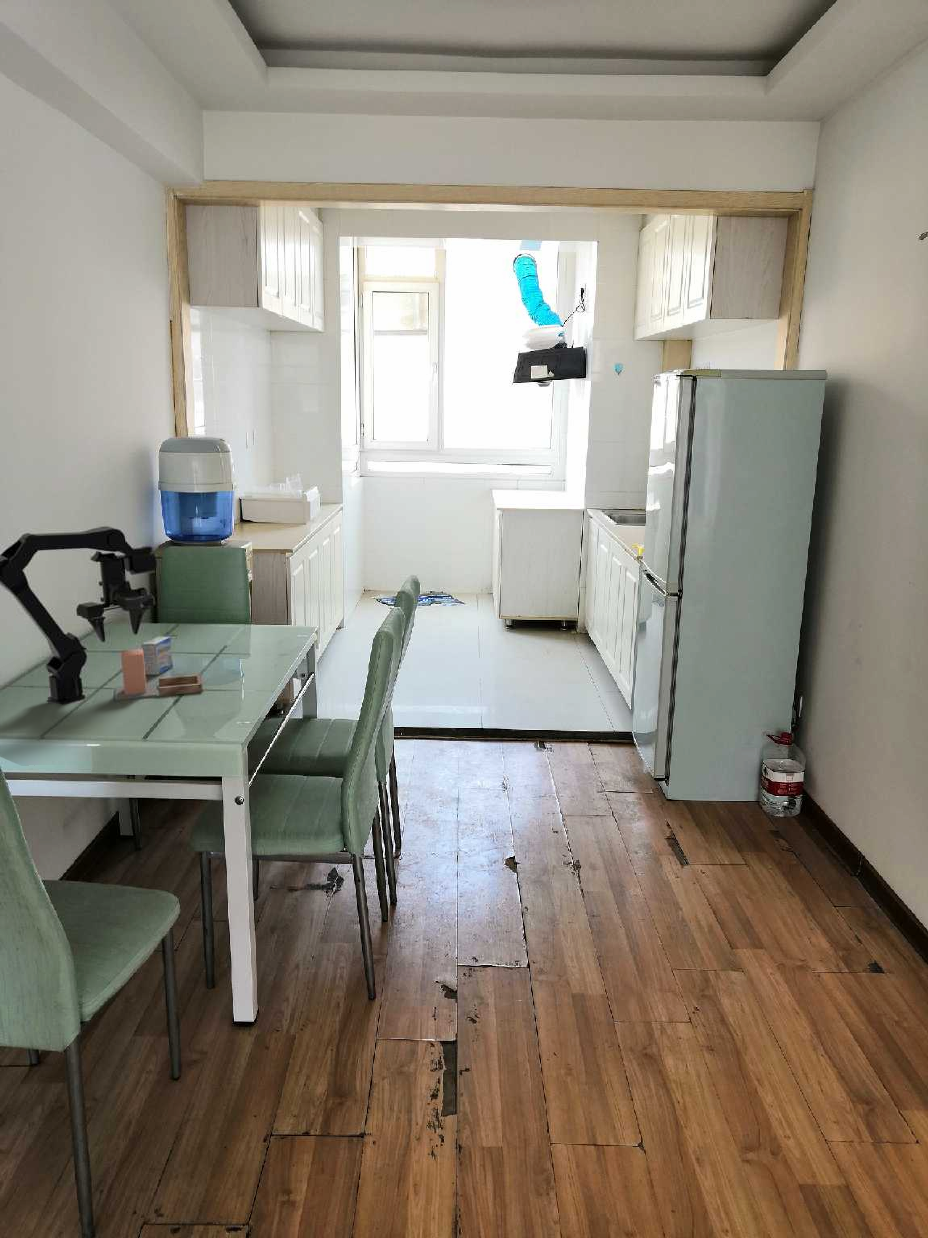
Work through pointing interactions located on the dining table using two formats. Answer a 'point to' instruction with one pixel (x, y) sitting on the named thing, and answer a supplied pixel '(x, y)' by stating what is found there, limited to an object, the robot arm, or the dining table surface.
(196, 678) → the frame
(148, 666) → the medicine box
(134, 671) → the salmon orange rectangular block
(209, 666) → the dining table surface
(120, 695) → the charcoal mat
